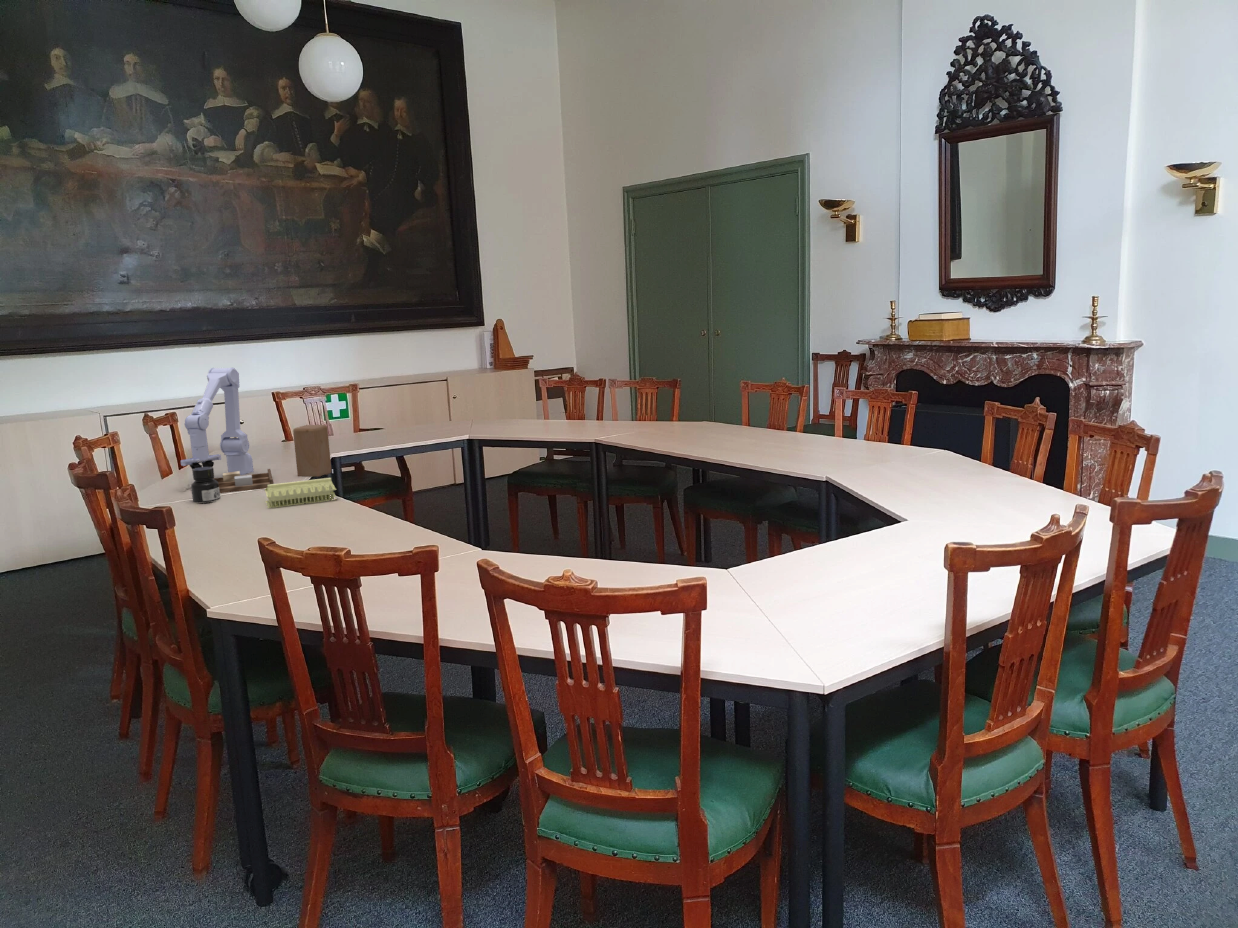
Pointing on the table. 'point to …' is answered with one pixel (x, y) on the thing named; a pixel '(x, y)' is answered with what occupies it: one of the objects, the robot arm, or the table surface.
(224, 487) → the lane shelf
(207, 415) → the robot arm
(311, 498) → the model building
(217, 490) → the ink bottle
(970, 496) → the table surface
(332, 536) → the table surface
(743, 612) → the table surface
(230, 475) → the birch block
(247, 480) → the grey block
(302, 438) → the wooden block
